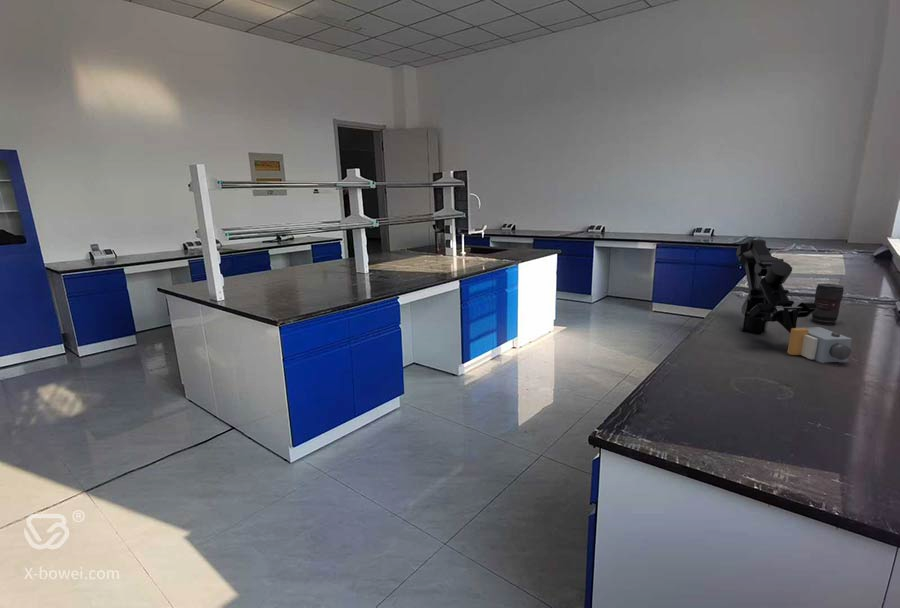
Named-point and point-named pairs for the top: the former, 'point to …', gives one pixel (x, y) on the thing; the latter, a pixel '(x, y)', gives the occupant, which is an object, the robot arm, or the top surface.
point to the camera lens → (827, 303)
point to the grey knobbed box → (830, 345)
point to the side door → (802, 343)
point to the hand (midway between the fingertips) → (793, 333)
